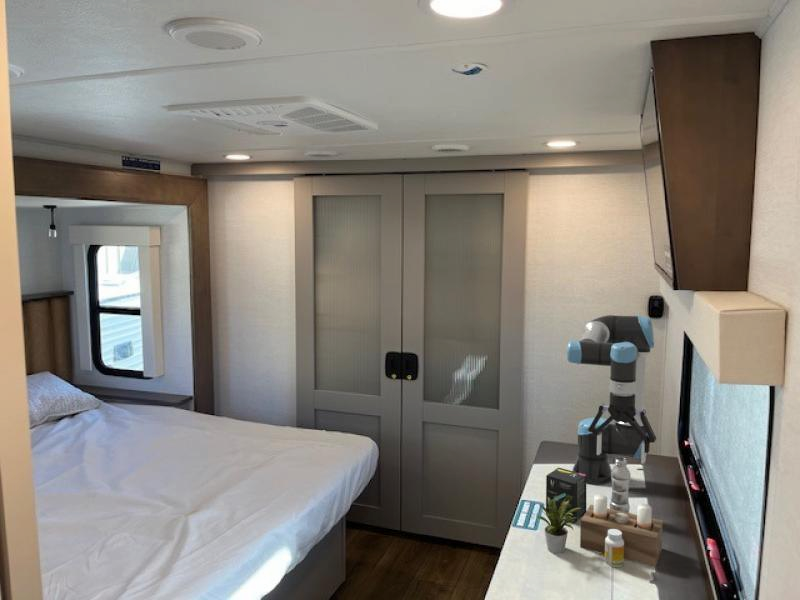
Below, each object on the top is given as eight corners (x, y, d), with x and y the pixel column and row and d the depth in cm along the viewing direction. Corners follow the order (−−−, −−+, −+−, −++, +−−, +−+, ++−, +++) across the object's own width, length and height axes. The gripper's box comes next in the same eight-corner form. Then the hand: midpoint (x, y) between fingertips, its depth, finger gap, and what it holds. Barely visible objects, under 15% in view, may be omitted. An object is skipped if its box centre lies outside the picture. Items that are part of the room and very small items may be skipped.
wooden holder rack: (590, 530, 200) (590, 500, 199) (661, 548, 189) (663, 516, 187) (580, 547, 190) (580, 515, 189) (655, 567, 179) (656, 533, 177)
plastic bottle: (606, 514, 211) (607, 459, 208) (615, 508, 215) (616, 454, 213) (624, 521, 206) (625, 464, 203) (632, 514, 211) (634, 458, 208)
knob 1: (594, 523, 195) (595, 493, 194) (608, 526, 193) (608, 496, 192) (591, 528, 192) (592, 498, 190) (605, 532, 189) (605, 501, 188)
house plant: (573, 569, 178) (574, 516, 176) (527, 557, 185) (528, 506, 183) (584, 546, 191) (585, 496, 189) (541, 535, 198) (541, 488, 195)
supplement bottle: (626, 562, 181) (627, 531, 180) (618, 569, 178) (619, 538, 176) (609, 555, 185) (610, 525, 184) (601, 562, 182) (602, 532, 180)
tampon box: (586, 514, 211) (587, 474, 209) (574, 524, 204) (575, 483, 202) (557, 505, 218) (558, 466, 217) (545, 514, 212) (545, 474, 210)
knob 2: (637, 533, 188) (638, 502, 187) (651, 536, 186) (652, 505, 185) (635, 539, 185) (636, 508, 184) (649, 542, 183) (650, 511, 181)
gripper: (579, 390, 194) (577, 454, 197) (663, 402, 180) (660, 470, 183) (585, 384, 200) (584, 446, 203) (667, 395, 186) (665, 461, 189)
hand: (620, 457), depth 193 cm, fingers open, 13 cm apart
